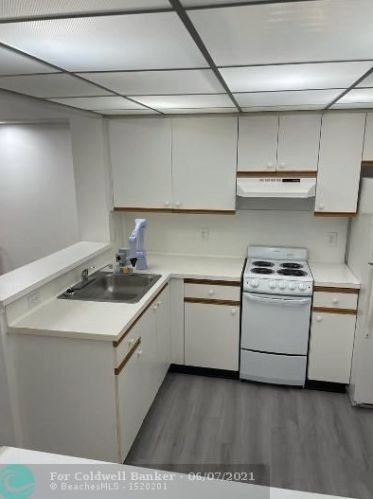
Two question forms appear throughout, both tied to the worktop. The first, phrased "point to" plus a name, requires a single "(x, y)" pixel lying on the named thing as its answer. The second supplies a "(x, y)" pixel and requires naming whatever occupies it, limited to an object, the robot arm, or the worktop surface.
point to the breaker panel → (121, 271)
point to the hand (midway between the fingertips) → (133, 266)
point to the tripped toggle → (125, 269)
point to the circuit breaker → (123, 256)
